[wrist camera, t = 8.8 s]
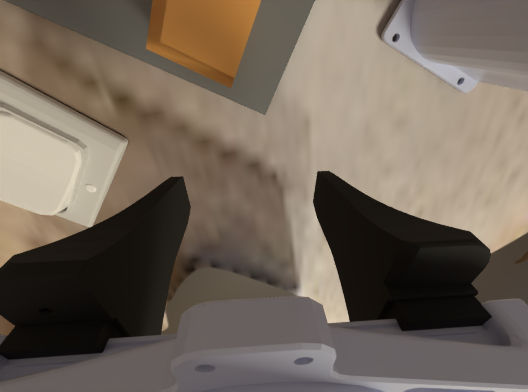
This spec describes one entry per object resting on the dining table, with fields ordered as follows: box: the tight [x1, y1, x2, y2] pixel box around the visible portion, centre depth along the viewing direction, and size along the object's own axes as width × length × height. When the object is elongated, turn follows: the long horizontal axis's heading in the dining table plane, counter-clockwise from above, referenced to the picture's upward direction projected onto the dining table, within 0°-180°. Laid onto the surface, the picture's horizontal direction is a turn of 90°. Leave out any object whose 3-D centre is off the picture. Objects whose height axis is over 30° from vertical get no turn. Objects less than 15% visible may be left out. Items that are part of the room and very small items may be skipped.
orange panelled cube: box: [146, 0, 261, 88], centre depth 13 cm, size 5×5×4 cm
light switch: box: [0, 71, 128, 227], centre depth 20 cm, size 11×4×13 cm
